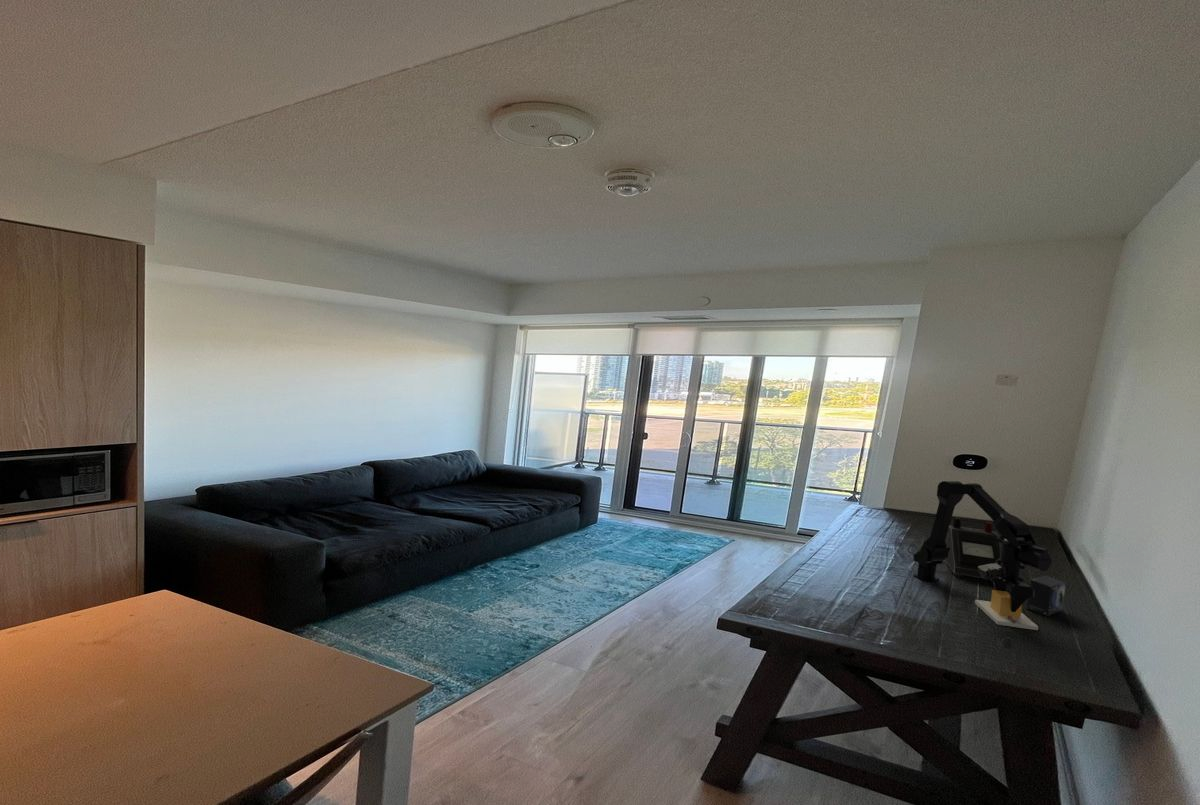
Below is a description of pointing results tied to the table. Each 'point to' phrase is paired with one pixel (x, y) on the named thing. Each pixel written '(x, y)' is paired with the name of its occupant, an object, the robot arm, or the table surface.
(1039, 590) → the small box
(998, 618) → the plate
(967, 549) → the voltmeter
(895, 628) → the table surface
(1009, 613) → the mustard yellow cube
